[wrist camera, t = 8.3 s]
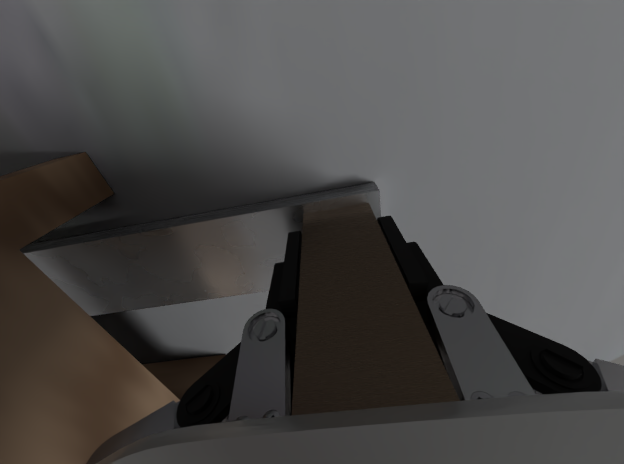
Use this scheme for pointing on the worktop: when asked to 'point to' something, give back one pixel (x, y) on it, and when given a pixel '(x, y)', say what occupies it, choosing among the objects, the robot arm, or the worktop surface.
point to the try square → (257, 278)
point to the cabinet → (64, 334)
